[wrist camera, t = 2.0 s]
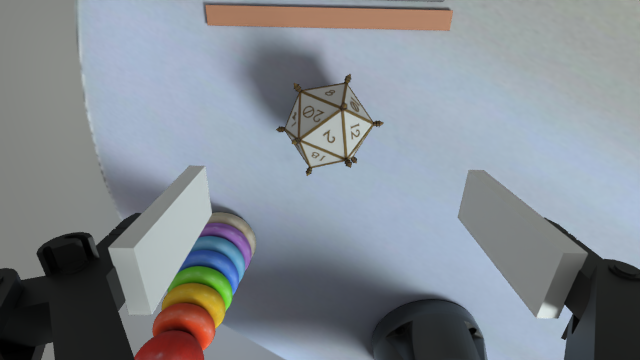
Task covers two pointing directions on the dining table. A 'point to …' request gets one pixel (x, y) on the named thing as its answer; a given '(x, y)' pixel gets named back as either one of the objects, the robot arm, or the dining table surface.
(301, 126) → the game die
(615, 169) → the dining table surface
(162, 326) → the stacking toy
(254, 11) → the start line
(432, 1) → the grey rectangular plate
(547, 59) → the dining table surface
